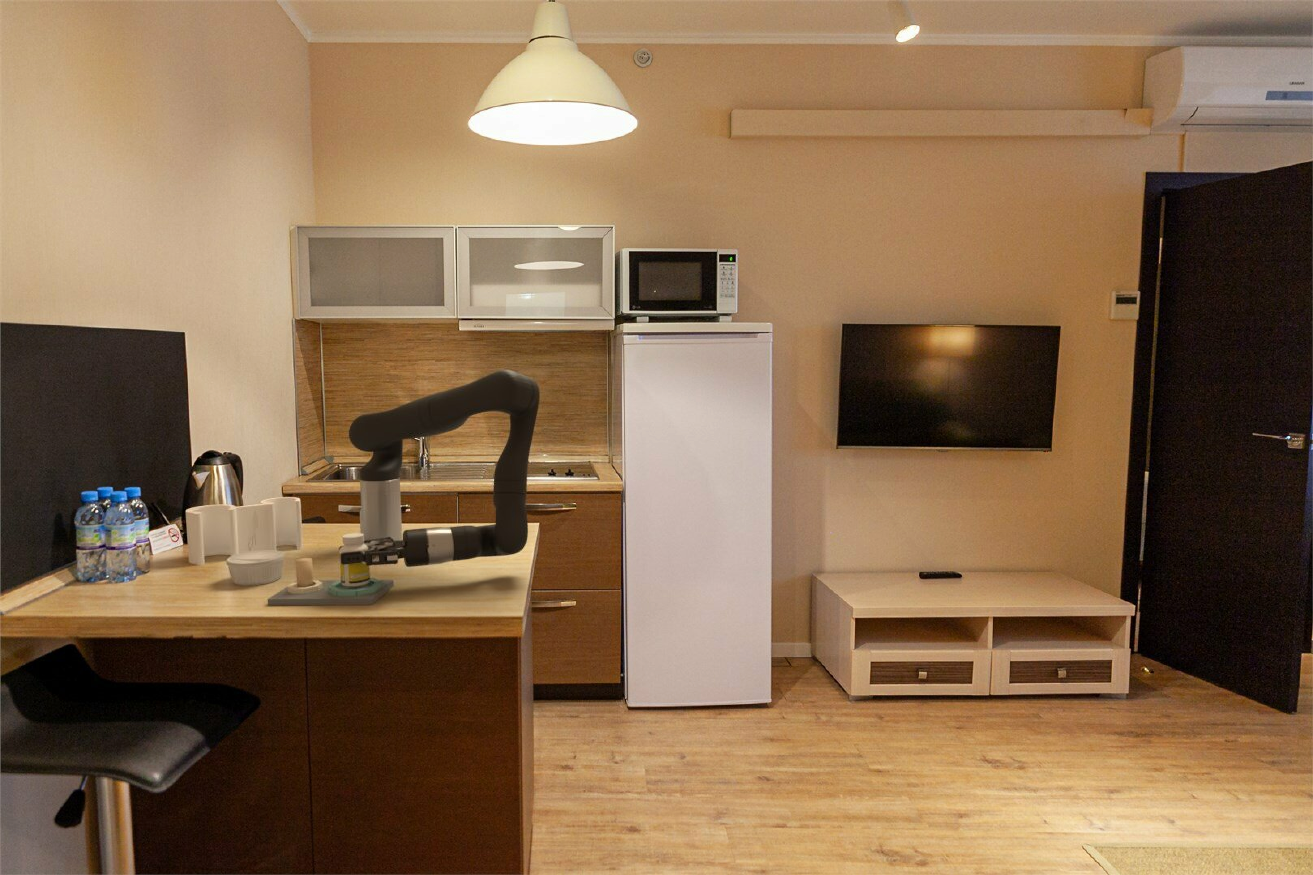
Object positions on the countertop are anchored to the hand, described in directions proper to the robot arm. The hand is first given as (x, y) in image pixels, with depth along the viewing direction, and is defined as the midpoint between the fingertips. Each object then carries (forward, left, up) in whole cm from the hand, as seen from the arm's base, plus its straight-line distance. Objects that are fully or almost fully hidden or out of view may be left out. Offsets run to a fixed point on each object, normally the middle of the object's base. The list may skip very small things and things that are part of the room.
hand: (340, 555), depth 166 cm
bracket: (-51, +7, -9) cm, 52 cm away
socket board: (-2, -1, -8) cm, 9 cm away
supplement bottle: (+1, +2, -6) cm, 7 cm away
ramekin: (-26, -4, -9) cm, 27 cm away
